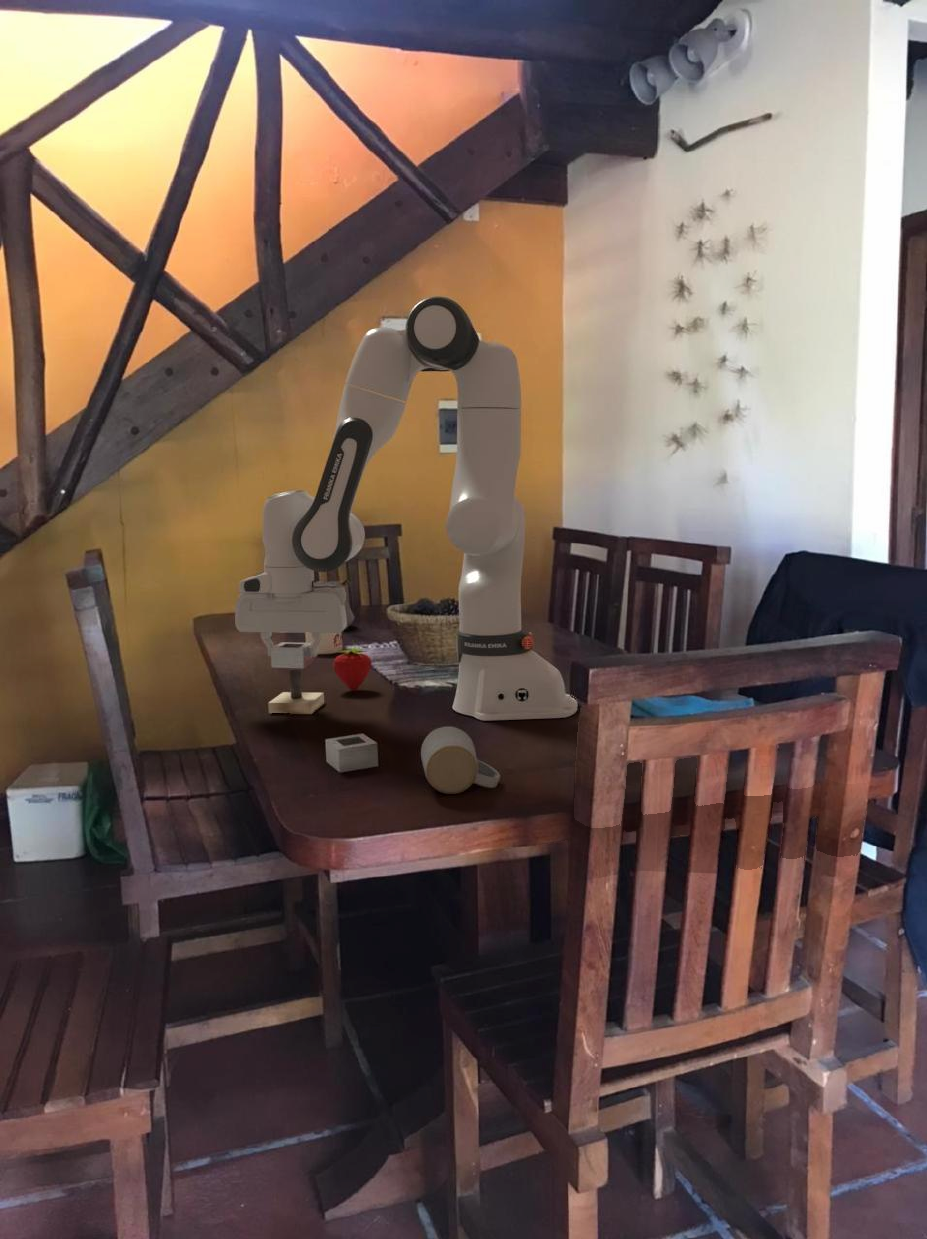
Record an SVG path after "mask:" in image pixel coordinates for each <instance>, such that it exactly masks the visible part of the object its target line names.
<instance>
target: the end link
mask: <svg viewBox="0 0 927 1239" xmlns="http://www.w3.org/2000/svg"><path fill="white" fill-rule="evenodd" d="M312 645H313V643H306V642H292V641H291V642H287V641H285V642H284V641H283V642H282V641H281V642H280V643H278V644H276V646H274V647H273V648H271V656H270V662H271V664H270V665H271V668H274V669H275V668H276V669H277V668H278V669H305V668H307V667H308V666H309V665H311V664H312V663H313V662H314V657H307V653H308V652H307V647H309V646H312Z"/></svg>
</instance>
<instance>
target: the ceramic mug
mask: <svg viewBox="0 0 927 1239" xmlns="http://www.w3.org/2000/svg"><path fill="white" fill-rule="evenodd" d="M476 754H477V753H476V748H475V745H474V742H473V739H472V738H471V737H470V736H469V735H468V734H467V733H466V732H465V731H464V730H462V729H460V728H458V727H455V726H441V727H438V728H436V729H434V730H432V731H431V732H429V733H428V735H427V736H426V737H425V738H424V740H423V743H422V744H421V748H420V758H421V762H422V766H423V767H422V768H423V770H424V775H425V777H426V780H427V781H428V783H429V785H431V787H432V788H433V789H435V791H438V792H440V793H442V794H447V795H457V794H460V793H463V792H464V791H466V790H468V789H469V788H470V787H471V786H472V785H473V784H476V785H477V786H481V787H484V788H488V789H494V788H497V786H498V784H499V781H500V779H501V775H500V773H499V772H498V771H497V770H496V769H495V768H494V767H492V766H490V765H489V764H487V763H485V762H484V761H481V760H480V759H478V758H477V755H476Z"/></svg>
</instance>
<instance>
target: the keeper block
mask: <svg viewBox="0 0 927 1239" xmlns="http://www.w3.org/2000/svg"><path fill="white" fill-rule="evenodd" d="M289 683H290V684H289V686H290V691H289V692H288V691H283V692H282V691H281V693H280V694H278V695H277V696H276V697H274V698H273V699H271V700H270V701H269V702H268V703H267V704H268V714H272V713H285V714H284V715H286V713H290V714H289V715H292V714H293V715H312V714H313V713H314V712H316V711H317V710H318V709H319V708H320V707H322V706H323V705H324V704H325V693H324V692H303V691H302V690H303V689H302V672H301V670H300V669H292V670H289ZM315 710H316V711H315Z"/></svg>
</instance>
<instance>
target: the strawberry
mask: <svg viewBox="0 0 927 1239" xmlns="http://www.w3.org/2000/svg"><path fill="white" fill-rule="evenodd" d="M351 642H352V643H353V646H354V647H353V648H350V649H346V650H342V651H340V652H338V653H343V654H340V655H338V656H336V657H335V658H334V659H333V663H332V667H333V670H334V673H335V674H336V676H338V678H339V679H340V681H341V682H342V683H343V684H344V685H346V687H347V688H348V690H350V691H353V692H355V691H357V690H358V689H359V688H360V686H361V685H362V684H363V682H364V681H365V680H366V679H367V676H368V675H369V673H370V670H371V668H372V660H371V657H369V656H368V654H366V652H367V650H364V649H362V650H361V649H356V644H355V643H354V640H353V639H352V640H351Z"/></svg>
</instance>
